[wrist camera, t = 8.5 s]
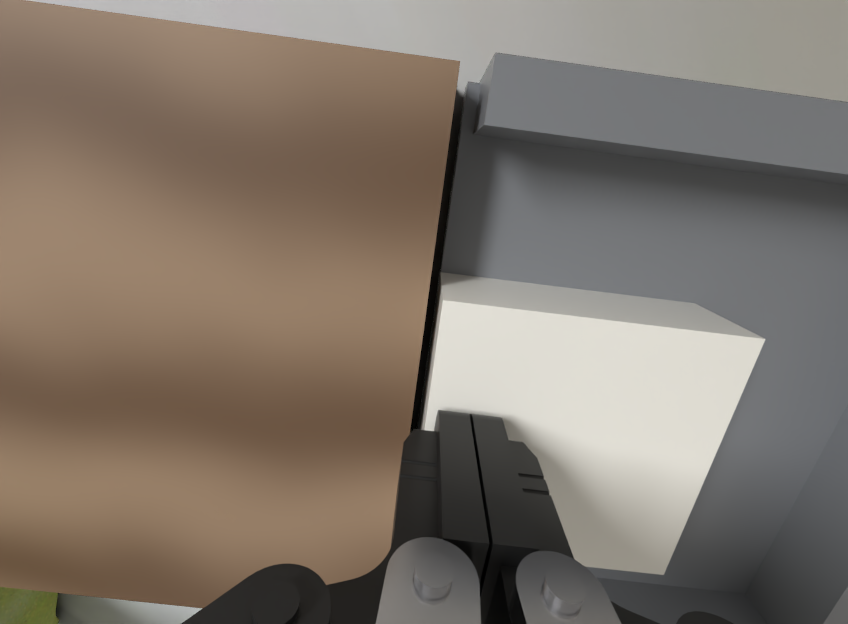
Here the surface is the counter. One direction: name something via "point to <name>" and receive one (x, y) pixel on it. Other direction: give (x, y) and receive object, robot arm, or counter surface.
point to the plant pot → (27, 606)
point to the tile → (595, 401)
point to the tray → (690, 292)
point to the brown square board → (206, 299)
